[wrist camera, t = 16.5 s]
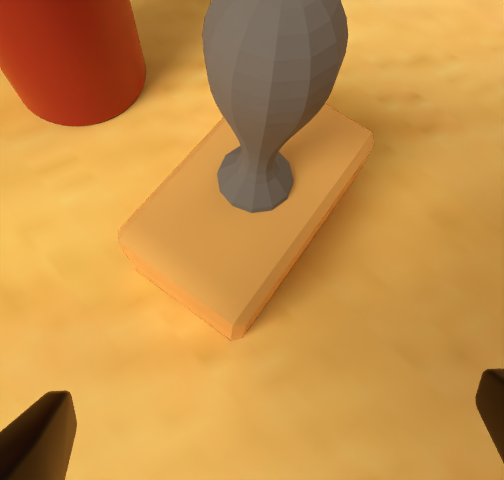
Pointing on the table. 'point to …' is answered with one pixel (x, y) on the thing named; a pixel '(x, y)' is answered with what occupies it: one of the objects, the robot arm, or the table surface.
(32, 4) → the red cup
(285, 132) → the rubber stamp
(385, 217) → the table surface
